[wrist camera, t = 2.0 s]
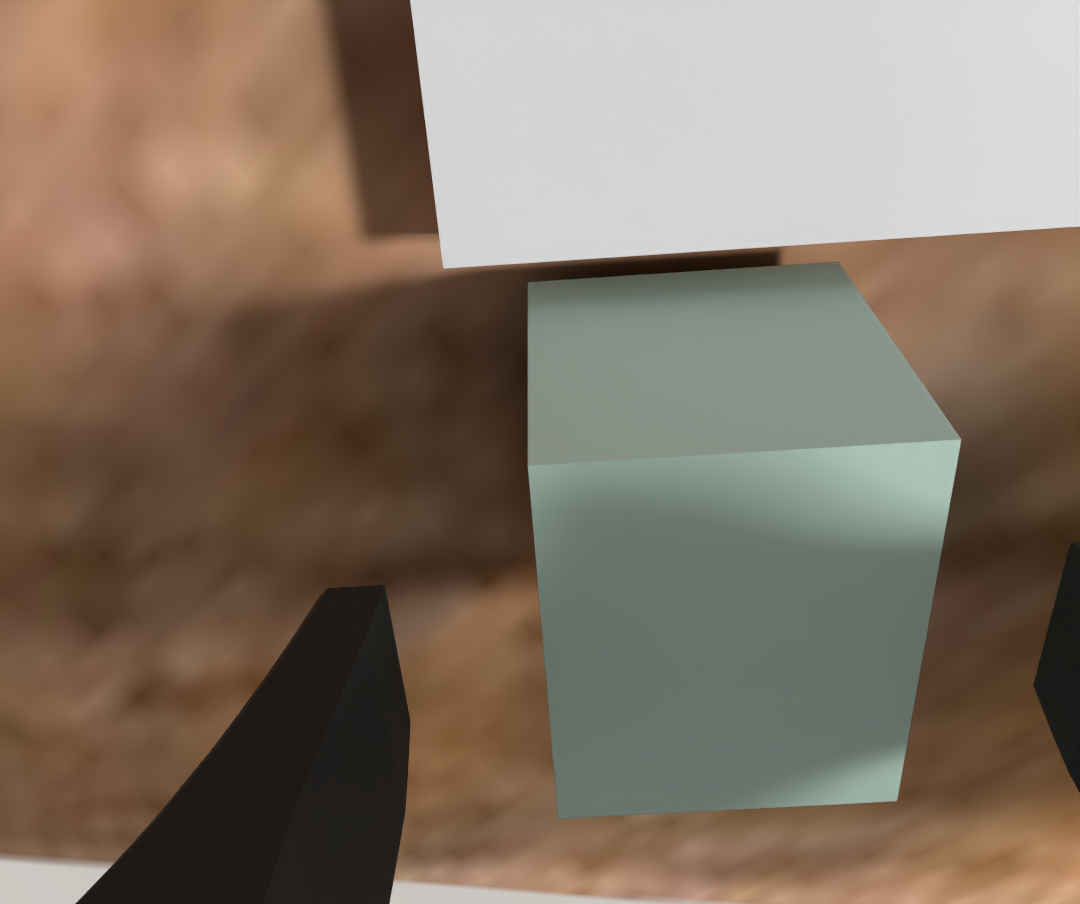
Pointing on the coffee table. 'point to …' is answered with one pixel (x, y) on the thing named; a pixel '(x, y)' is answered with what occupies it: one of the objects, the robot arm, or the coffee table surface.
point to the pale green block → (729, 538)
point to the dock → (743, 123)
